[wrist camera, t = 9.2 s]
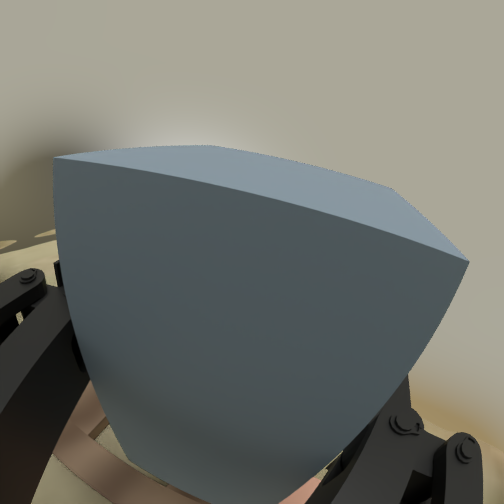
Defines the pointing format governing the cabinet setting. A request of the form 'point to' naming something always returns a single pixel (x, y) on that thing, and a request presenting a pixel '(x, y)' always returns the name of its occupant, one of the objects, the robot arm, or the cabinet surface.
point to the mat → (302, 492)
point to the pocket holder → (108, 460)
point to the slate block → (243, 308)
